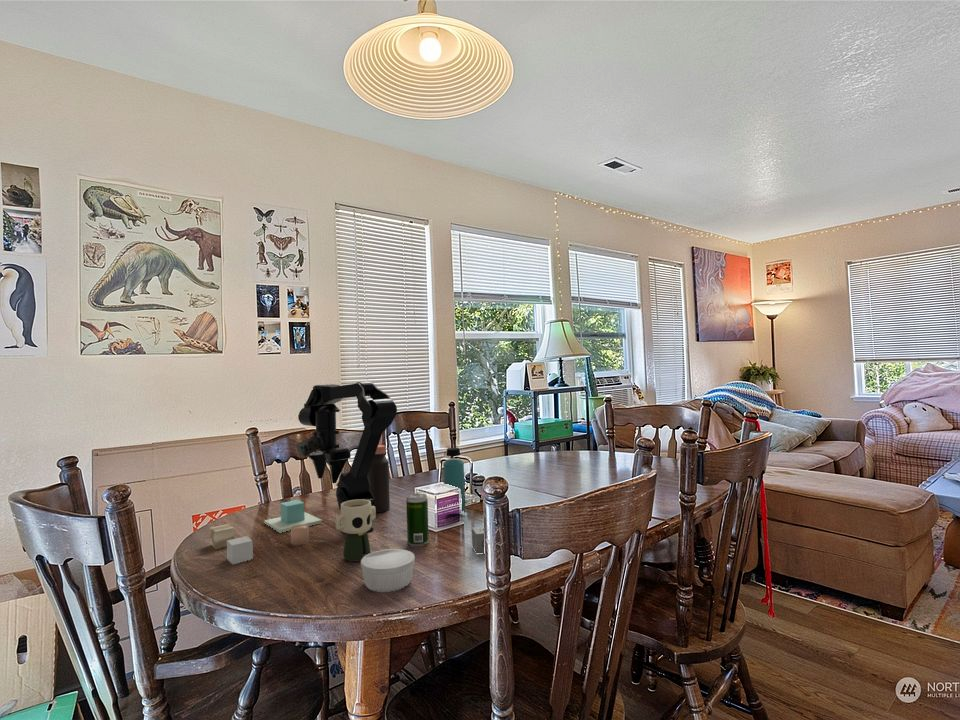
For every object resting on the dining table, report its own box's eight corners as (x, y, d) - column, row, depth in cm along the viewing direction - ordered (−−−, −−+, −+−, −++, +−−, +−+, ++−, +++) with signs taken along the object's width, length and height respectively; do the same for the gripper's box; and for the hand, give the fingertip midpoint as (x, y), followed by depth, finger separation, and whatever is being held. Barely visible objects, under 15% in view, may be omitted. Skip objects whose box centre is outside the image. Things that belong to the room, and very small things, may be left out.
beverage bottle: (456, 519, 147) (454, 450, 148) (439, 515, 151) (437, 448, 152) (470, 513, 153) (468, 447, 153) (453, 510, 157) (452, 445, 157)
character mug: (345, 569, 113) (344, 511, 113) (328, 561, 117) (327, 505, 118) (385, 555, 121) (384, 500, 121) (367, 548, 126) (366, 495, 126)
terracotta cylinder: (311, 542, 131) (311, 526, 131) (294, 546, 128) (294, 530, 128) (304, 538, 134) (304, 523, 134) (288, 542, 131) (287, 527, 132)
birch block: (234, 545, 131) (234, 527, 131) (215, 549, 128) (215, 531, 128) (229, 540, 134) (229, 523, 134) (210, 545, 131) (210, 527, 131)
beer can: (430, 545, 127) (429, 497, 127) (409, 548, 125) (408, 499, 125) (425, 538, 132) (424, 492, 132) (405, 541, 130) (404, 494, 130)
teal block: (304, 520, 147) (304, 502, 147) (287, 524, 144) (287, 506, 144) (297, 516, 151) (297, 499, 151) (280, 520, 147) (280, 503, 148)
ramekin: (394, 568, 113) (393, 544, 113) (426, 582, 105) (426, 556, 105) (350, 584, 105) (349, 559, 105) (382, 601, 97) (381, 573, 97)
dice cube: (497, 553, 121) (496, 532, 121) (476, 555, 119) (476, 534, 119) (492, 545, 125) (491, 525, 125) (472, 548, 124) (471, 527, 124)
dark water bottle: (365, 508, 161) (364, 445, 161) (386, 505, 164) (385, 443, 164) (370, 513, 155) (369, 448, 155) (392, 510, 158) (390, 446, 158)
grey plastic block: (252, 559, 120) (252, 540, 120) (232, 564, 117) (232, 545, 117) (246, 554, 124) (246, 536, 124) (227, 559, 121) (226, 540, 121)
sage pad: (321, 523, 147) (321, 519, 147) (280, 533, 139) (279, 529, 139) (304, 514, 156) (304, 511, 156) (264, 523, 148) (264, 520, 148)
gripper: (286, 427, 150) (287, 480, 150) (313, 433, 136) (314, 491, 136) (321, 424, 157) (323, 474, 157) (350, 428, 144) (352, 483, 143)
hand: (327, 480), depth 148 cm, fingers open, 9 cm apart
